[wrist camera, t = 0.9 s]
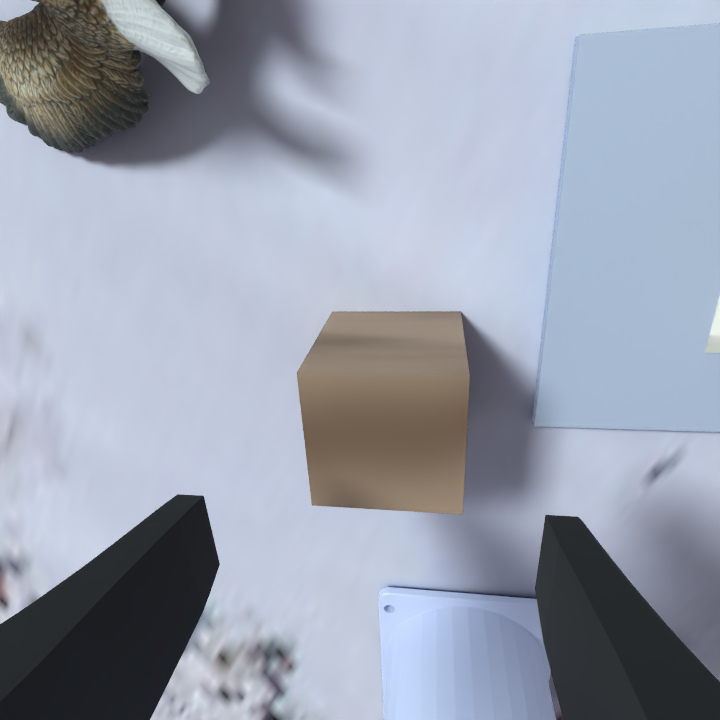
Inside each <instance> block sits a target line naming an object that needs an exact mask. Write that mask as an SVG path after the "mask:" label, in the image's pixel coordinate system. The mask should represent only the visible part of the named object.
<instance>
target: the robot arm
mask: <svg viewBox="0 0 720 720" xmlns="http://www.w3.org/2000/svg"><path fill="white" fill-rule="evenodd" d="M219 565H220V564H219V560H218V555H217V551H216V547H215V543H214V538H213V534H212V530H211V526H210V521H209V517H208V513H207V509H206V504H205V500H204V496H195V495H176V496H175V497H174V498H172V499H171V500H169V501H168V502H167V503H165V504H164V505H163V506H161V507H160V508H159V509H158V510H156V511H155V512H154V513H152V514H151V515H150V516H149V517H147V518H146V519H145V520H143V521H142V522H141V523H140V524H138V525H137V526H136V527H134V528H133V529H132V530H131V531H129V532H128V533H127V534H126V535H124V536H123V537H122V538H120V539H119V540H118V541H116V542H115V543H114V544H113V545H111V546H110V547H109V548H107V549H106V550H105V551H103V552H102V553H101V554H100V555H98V556H97V557H96V558H94V559H93V560H92V561H90V562H89V563H88V564H86V565H85V566H84V567H82V568H81V569H79V570H78V571H77V572H75V573H74V574H73V575H71V576H70V577H68V578H67V579H66V580H64V581H63V582H61V583H60V584H59V585H57V586H56V587H54V588H53V589H52V590H50V591H49V592H47V593H46V594H45V595H43V596H42V597H40V598H39V599H38V600H36V601H35V602H33V603H32V604H30V605H29V606H27V607H26V608H24V609H23V610H22V611H20V612H18V613H17V614H15V615H14V616H12V617H11V618H9V619H8V620H6V621H5V622H3V623H2V624H0V720H150V718H151V716H152V714H153V712H154V710H155V708H156V706H157V704H158V702H159V700H160V698H161V696H162V694H163V692H164V690H165V688H166V686H167V684H168V682H169V680H170V678H171V676H172V674H173V672H174V670H175V668H176V666H177V664H178V662H179V660H180V658H181V656H182V654H183V652H184V650H185V648H186V646H187V644H188V642H189V639H190V637H191V635H192V633H193V631H194V629H195V627H196V625H197V623H198V621H199V619H200V617H201V615H202V612H203V610H204V607H205V605H206V602H207V599H208V597H209V594H210V591H211V588H212V585H213V582H214V579H215V576H216V573H217V570H218V568H219ZM535 591H536V598H537V599H531V598H518V597H506V596H494V595H481V594H469V593H456V592H444V591H432V590H419V589H407V588H395V587H386V588H383V589H381V591H380V593H379V620H380V641H381V661H382V682H383V702H384V713H383V720H556V716H555V712H554V707H553V702H552V697H551V692H550V688H549V680H550V674H551V673H552V677H553V681H554V685H555V689H556V692H557V696H558V700H559V704H560V707H561V711H562V715H563V718H564V720H720V682H719V681H718V680H717V679H716V678H715V676H714V675H713V674H712V673H711V672H710V671H709V670H708V669H707V668H706V667H705V666H704V665H703V664H702V663H701V662H700V661H699V660H698V658H697V657H696V656H695V655H694V654H693V653H692V652H691V651H690V650H689V649H688V648H687V647H686V646H685V645H684V643H683V642H682V641H681V640H680V639H679V638H678V637H677V636H676V635H675V633H674V632H673V631H672V630H671V629H670V628H669V627H668V626H667V625H666V623H665V622H664V621H663V620H662V619H661V618H660V616H659V615H658V614H657V613H656V612H655V611H654V609H653V608H652V607H651V606H650V605H649V604H648V602H647V601H646V600H645V599H644V598H643V597H642V595H641V594H640V593H639V592H638V591H637V590H636V588H635V587H634V586H633V585H632V584H631V582H630V581H629V580H628V579H627V577H626V576H625V575H624V574H623V573H622V571H621V570H620V569H619V568H618V566H617V565H616V564H615V563H614V561H613V560H612V559H611V558H610V556H609V555H608V554H607V552H606V551H605V550H604V549H603V547H602V546H601V545H600V543H599V542H598V541H597V540H596V538H595V537H594V536H593V534H592V533H591V532H590V530H589V529H588V528H587V526H586V525H585V524H584V523H583V521H582V520H581V519H580V518H579V517H571V516H553V515H546V516H545V523H544V530H543V537H542V544H541V551H540V558H539V565H538V572H537V579H536V586H535ZM390 605H391V606H390Z"/></svg>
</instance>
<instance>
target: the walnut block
mask: <svg viewBox="0 0 720 720" xmlns="http://www.w3.org/2000/svg"><path fill="white" fill-rule="evenodd" d="M297 378H298V387H299V396H300V404H301V413H302V422H303V431H304V439H305V448H306V457H307V465H308V474H309V483H310V492H311V500H312V505H316V506H332V507H349V508H365V509H382V510H398V511H415V512H431V513H447V514H463V500H464V480H465V461H466V441H467V422H468V402H469V382H470V374H469V367H468V360H467V352H466V345H465V338H464V331H463V324H462V317H461V312H332V313H331V315H330V317H329V318H328V320H327V322H326V324H325V325H324V327H323V329H322V330H321V332H320V334H319V336H318V337H317V339H316V341H315V342H314V344H313V346H312V348H311V349H310V351H309V353H308V355H307V356H306V358H305V360H304V361H303V363H302V365H301V367H300V368H299V370H298V372H297Z"/></svg>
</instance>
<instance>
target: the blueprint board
mask: <svg viewBox="0 0 720 720" xmlns="http://www.w3.org/2000/svg"><path fill="white" fill-rule="evenodd" d="M532 422H533V424H534V426H540V427H573V428H605V429H637V430H670V431H702V432H720V23H718V24H705V25H693V26H681V27H668V28H656V29H644V30H631V31H619V32H607V33H594V34H582V35H579V36H577V37H576V40H575V48H574V57H573V66H572V75H571V84H570V92H569V101H568V110H567V119H566V128H565V136H564V145H563V154H562V163H561V171H560V180H559V189H558V198H557V207H556V215H555V224H554V233H553V242H552V250H551V259H550V268H549V277H548V286H547V294H546V303H545V312H544V321H543V330H542V338H541V347H540V356H539V365H538V373H537V382H536V391H535V400H534V409H533V417H532Z"/></svg>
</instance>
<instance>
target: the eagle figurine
mask: <svg viewBox="0 0 720 720" xmlns="http://www.w3.org/2000/svg"><path fill="white" fill-rule="evenodd" d="M32 1H36V2H40V3H39V4H38V5H36V6H35V7H34V9H33V10H32V11H30V12H29V13H27V14H25V15H23V16H20V17H17V18H14V19H12V20H10V21H8V22H6V21H0V103H2V104H3V105H5V106H6V109H7V114H8V115H9V117H10V118H12V119H13V120H15V121H17V122H21V123H27V124H28V129H29V131H30V133H31V134H32V135H34V136H39V137H40V136H41V138H42V139H43V141H44V142H45V143H46V144H47V145H48V146H51V147H54V148H56V149H60V150H62V149H63V150H64V151H66V152H68V153H70V152H73V151H75V152H82V151H83V147H84V148H87V147H89V146H94V145H95V143H96V140H103V139H104V138H105V137H111V136H112V134H113V132H114V131H117V132H124V131H125V130H127V129H133V128H134V127H135V125H136V124H137V123H139V122H140V120H141V118H142V114H143V113H144V112H146V111H148V109H149V104H148V100H149V97H150V96H149V94H148V92H147V91H146V90H145V89H144V88H143V83H144V77H143V75H142V73H141V72H140V71H139V70H138V69H137V67H138V66H139V65H140V64H141V55H140V52H139V51H141V52H144V53H146V54H148V55H150V56H152V57H153V58H155V59H156V60H157V61H158V62H160V63H161V64H162V65H163V66H164V67H166V68H167V69H168V70H169V71H170V72H171V73H172V74H173V75H174V76H175V77H176V78H177V79H178V80H179V81H180V82H181V83H182V84H183V85H184V86H185V87H186V88H187V89H188V90H189V91H191V92H193V93H195V94H200V93H201V92H202V91H203V89H204V88H205V87H206V86H208V85H209V83H210V80H209V78H208V76H207V74H206V73H205V70H204V65H203V63H202V60H201V58H200V57H199V54H198V52H197V49H196V47H195V45H194V43H193V40H192V39H191V37H190V35H189V34H188V33H187V32H186V31H185V30H184V29H183V28H181V27H180V26H179V25H178V24H177V23H176V22H175V21H174V19H173V18H172V17H171V16H170V15H169V14H168V13H167V12H165V11H164V10H163V9H162V8H161V6H162V5H163V4H164V2H165V0H32ZM95 139H96V140H95Z"/></svg>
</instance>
